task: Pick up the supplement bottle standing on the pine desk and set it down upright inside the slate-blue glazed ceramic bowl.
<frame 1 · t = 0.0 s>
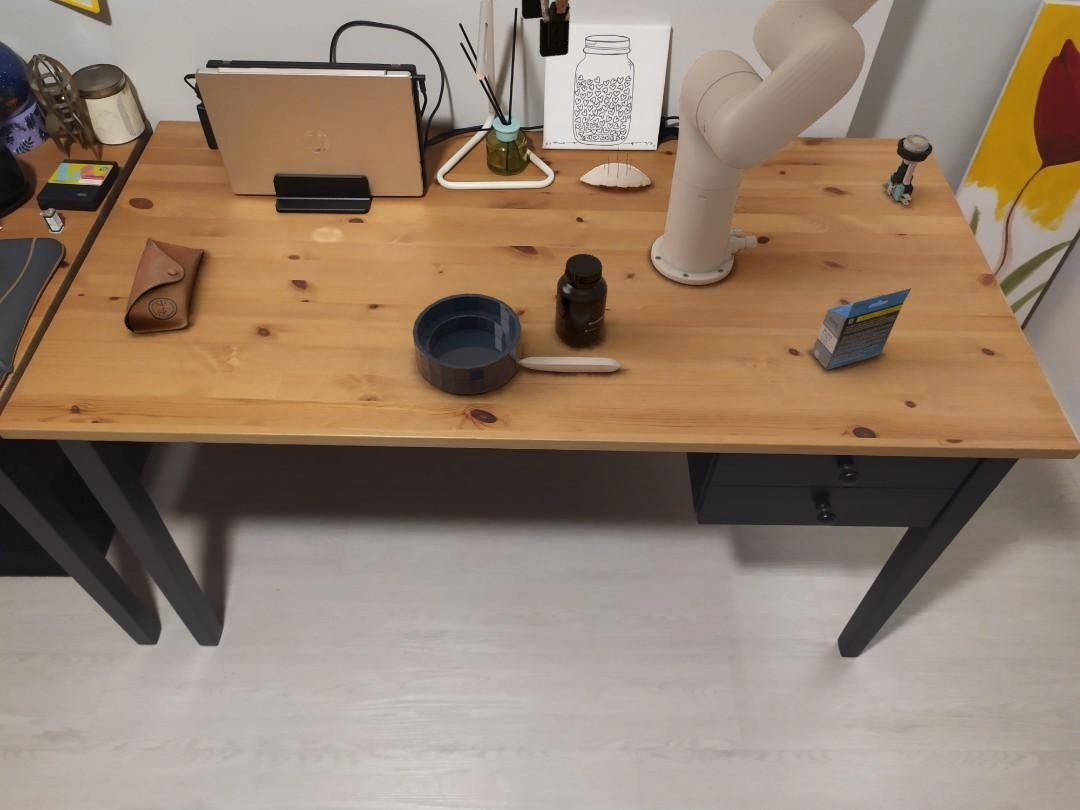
hand: (544, 35, 94), 37 cm above the table, tool pointing down, fingers open, 9 cm apart
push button: (897, 196, 137), on the table
sunglasses case: (169, 291, 119), on the table
blue cardboard box: (845, 355, 112), on the table
bowl: (469, 358, 111), on the table
supplement bottle: (579, 332, 114), on the table
pincushion: (614, 184, 138), on the table
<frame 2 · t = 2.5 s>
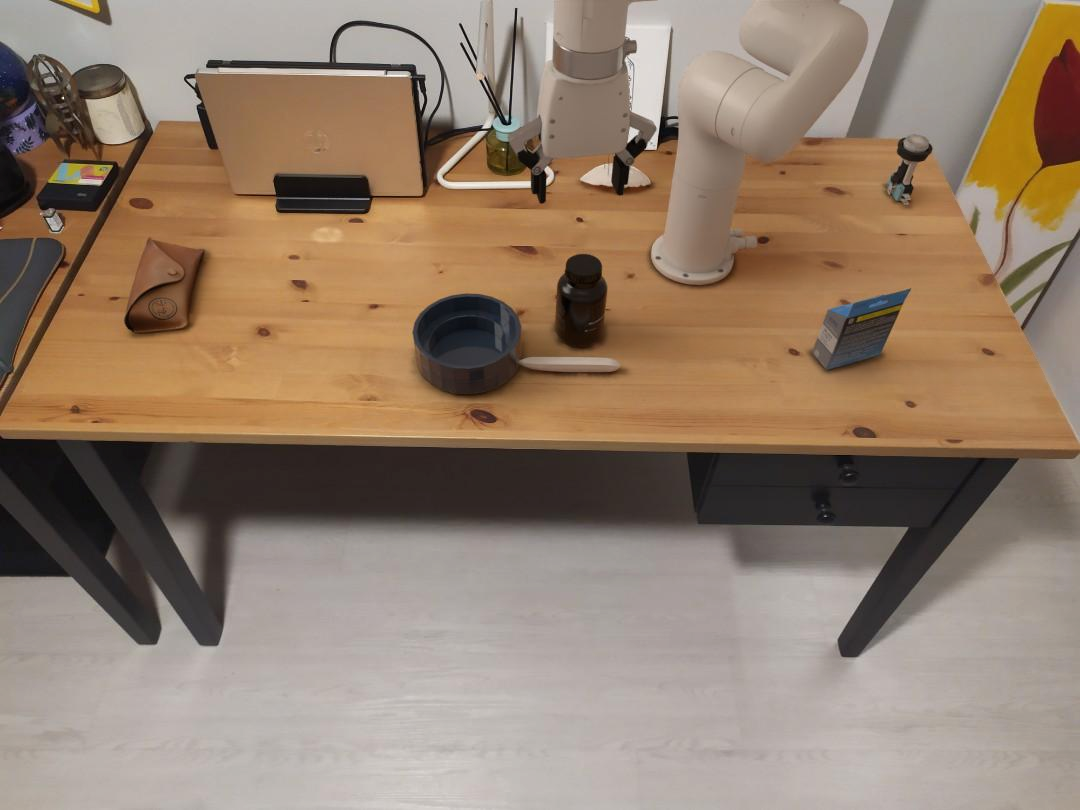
hand: (578, 193, 99), 22 cm above the table, tool pointing down, fingers open, 9 cm apart
nothing on the table moved.
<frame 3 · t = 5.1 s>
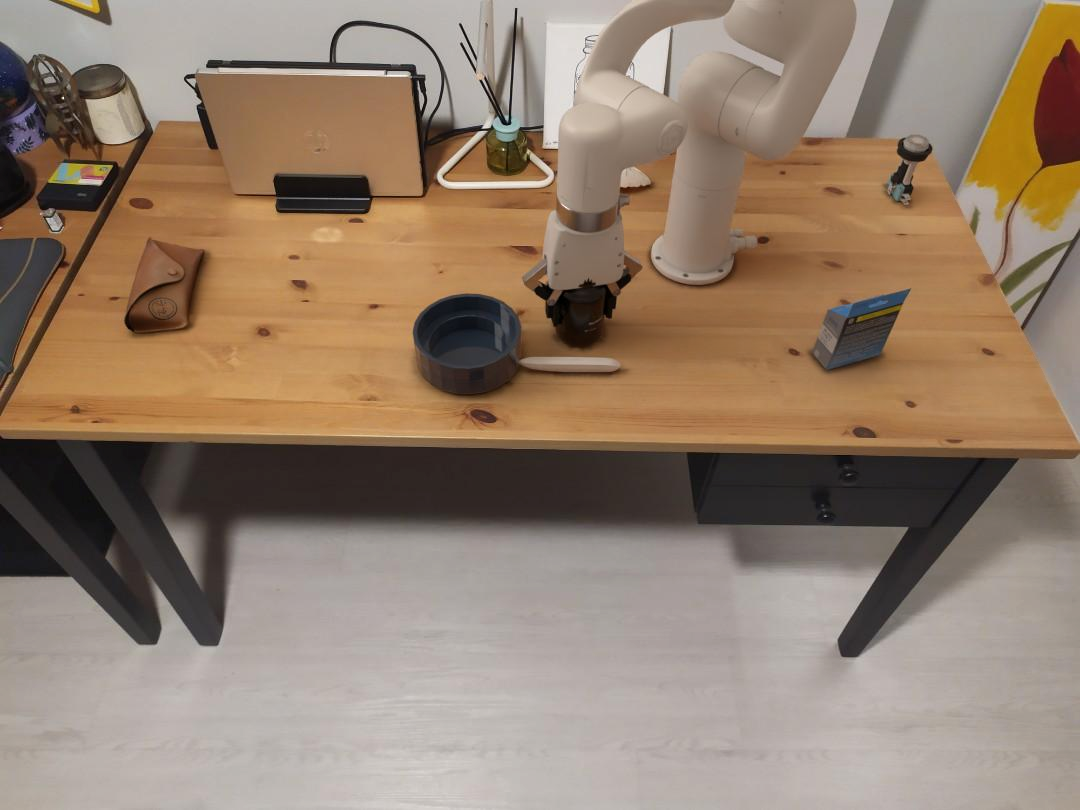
hand: (580, 315, 112), 3 cm above the table, tool pointing down, fingers closed on supplement bottle, 6 cm apart
supplement bottle: (579, 332, 114), on the table, touching gripper
everything else where it was.
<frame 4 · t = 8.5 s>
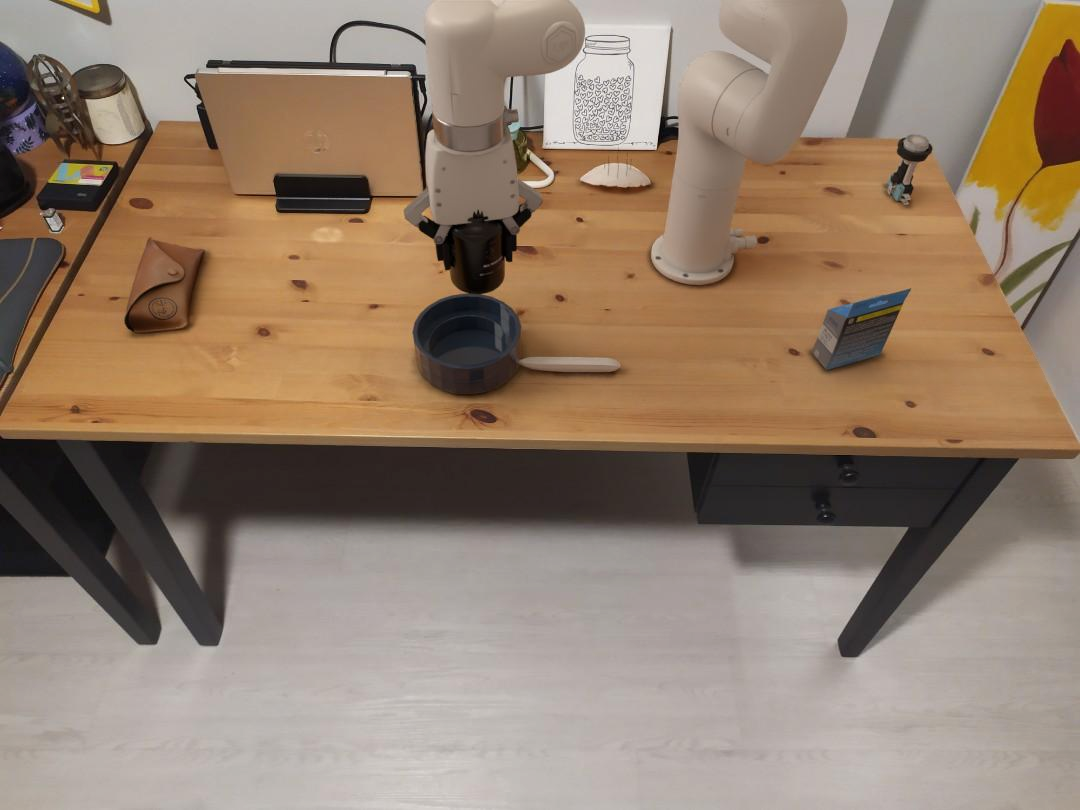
hand: (477, 258, 98), 17 cm above the table, tool pointing down, fingers closed on supplement bottle, 6 cm apart
supplement bottle: (478, 279, 101), point 13 cm above the table, touching gripper
everything else where it was.
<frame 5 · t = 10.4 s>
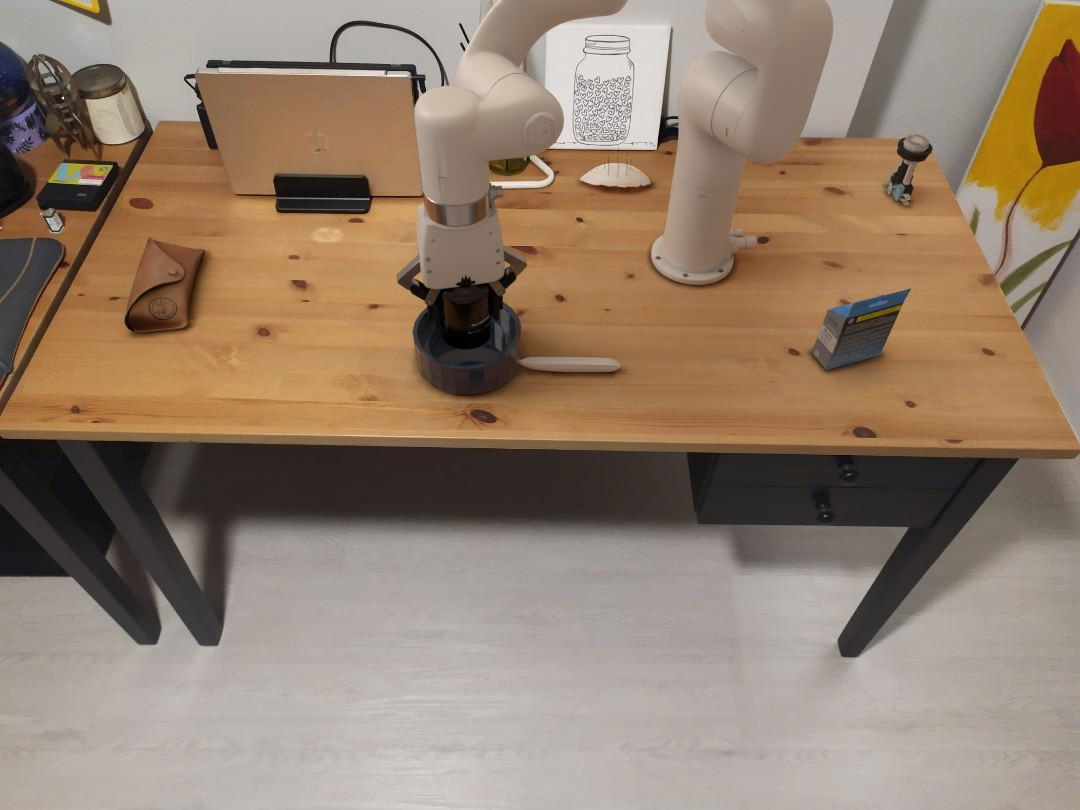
hand: (465, 316, 105), 8 cm above the table, tool pointing down, fingers closed on supplement bottle, 6 cm apart
supplement bottle: (467, 334, 107), point 5 cm above the table, touching gripper
everything else where it was.
when the fingers open (4 cm above the table, at t = 12.0 s): supplement bottle stays where it is, resting on bowl.
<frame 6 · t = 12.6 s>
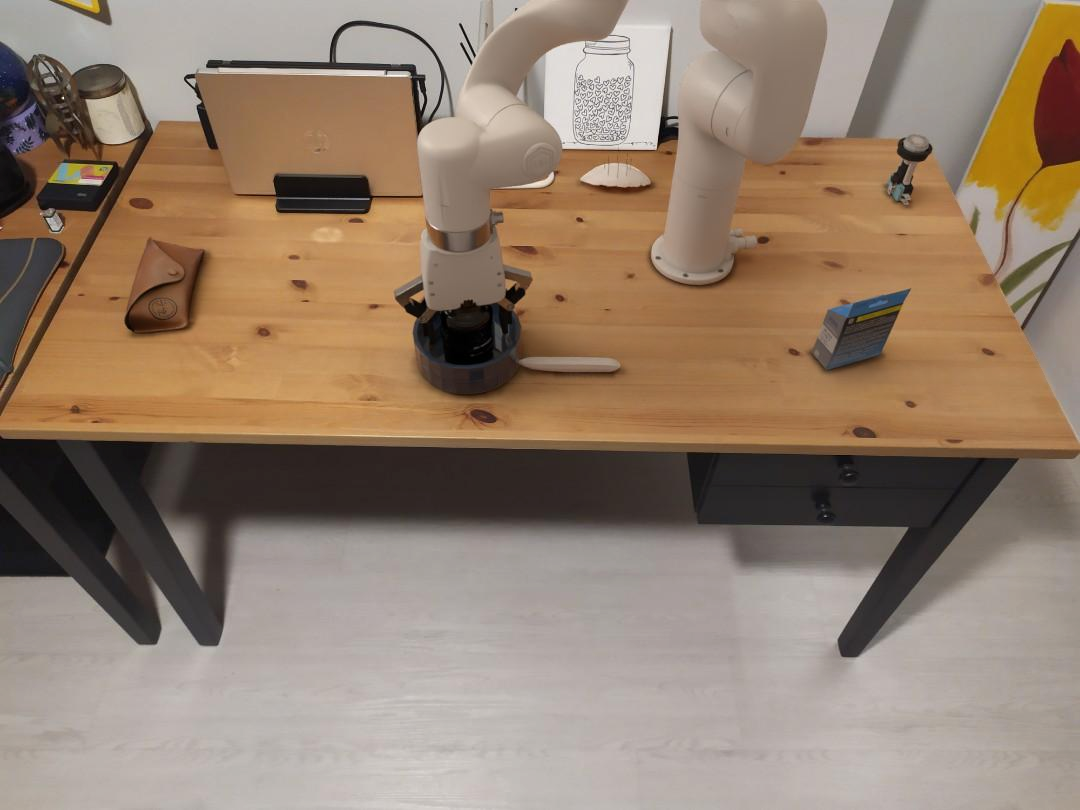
hand: (467, 332, 107), 5 cm above the table, tool pointing down, fingers open, 9 cm apart
supplement bottle: (469, 356, 110), resting on bowl
everything else where it was.
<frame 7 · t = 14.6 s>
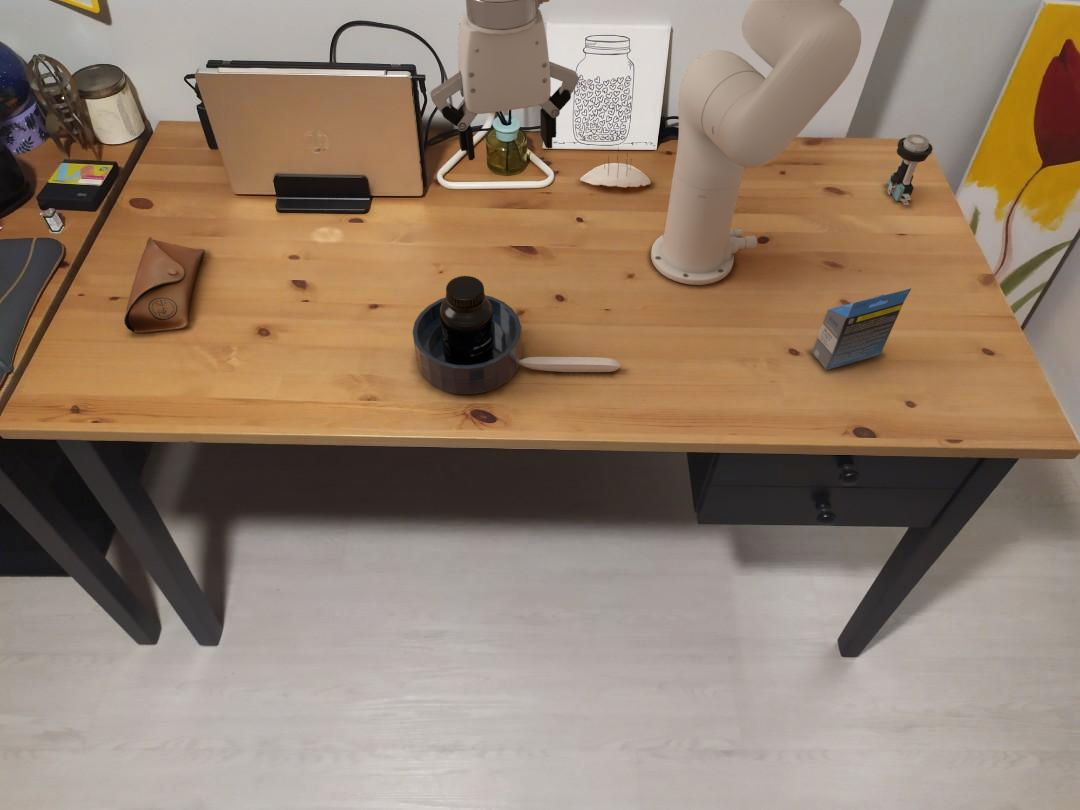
hand: (508, 148, 99), 25 cm above the table, tool pointing down, fingers open, 9 cm apart
nothing on the table moved.
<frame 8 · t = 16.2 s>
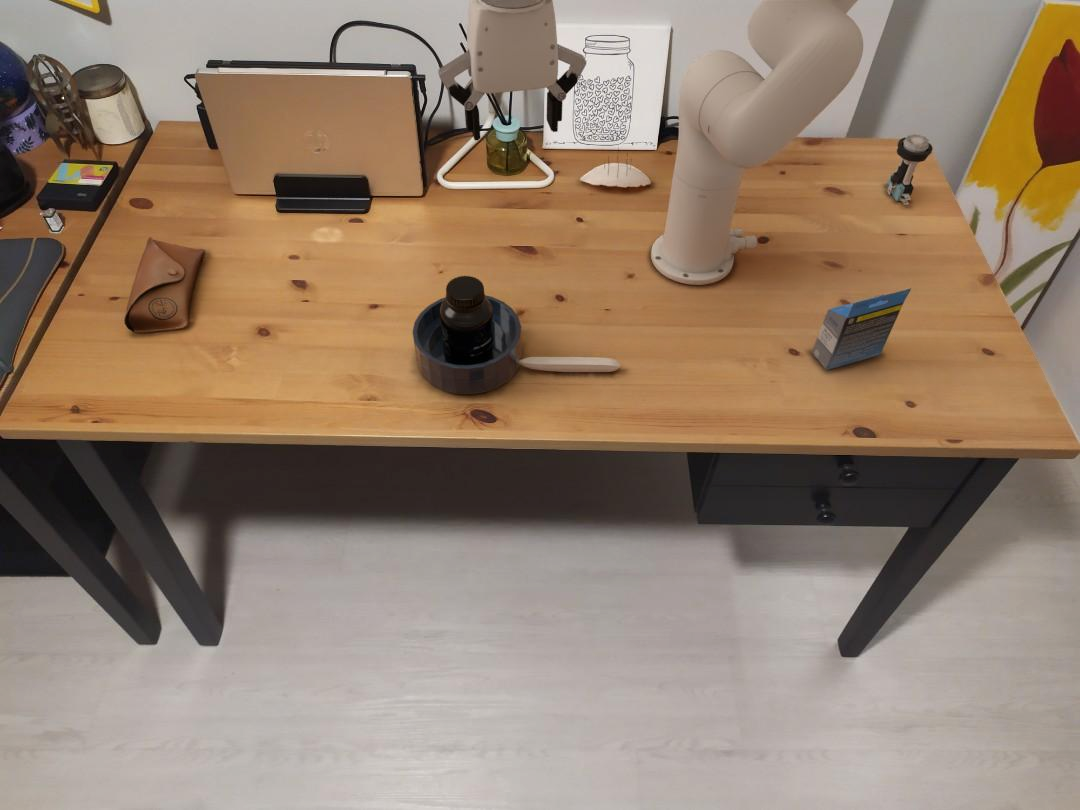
hand: (514, 130, 100), 26 cm above the table, tool pointing down, fingers open, 9 cm apart
nothing on the table moved.
at the end: supplement bottle inside the target area in the bowl (0.1 cm from its centre), point 0.4 cm above the bowl's base; supplement bottle tilted 0°; the gripper is holding nothing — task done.
